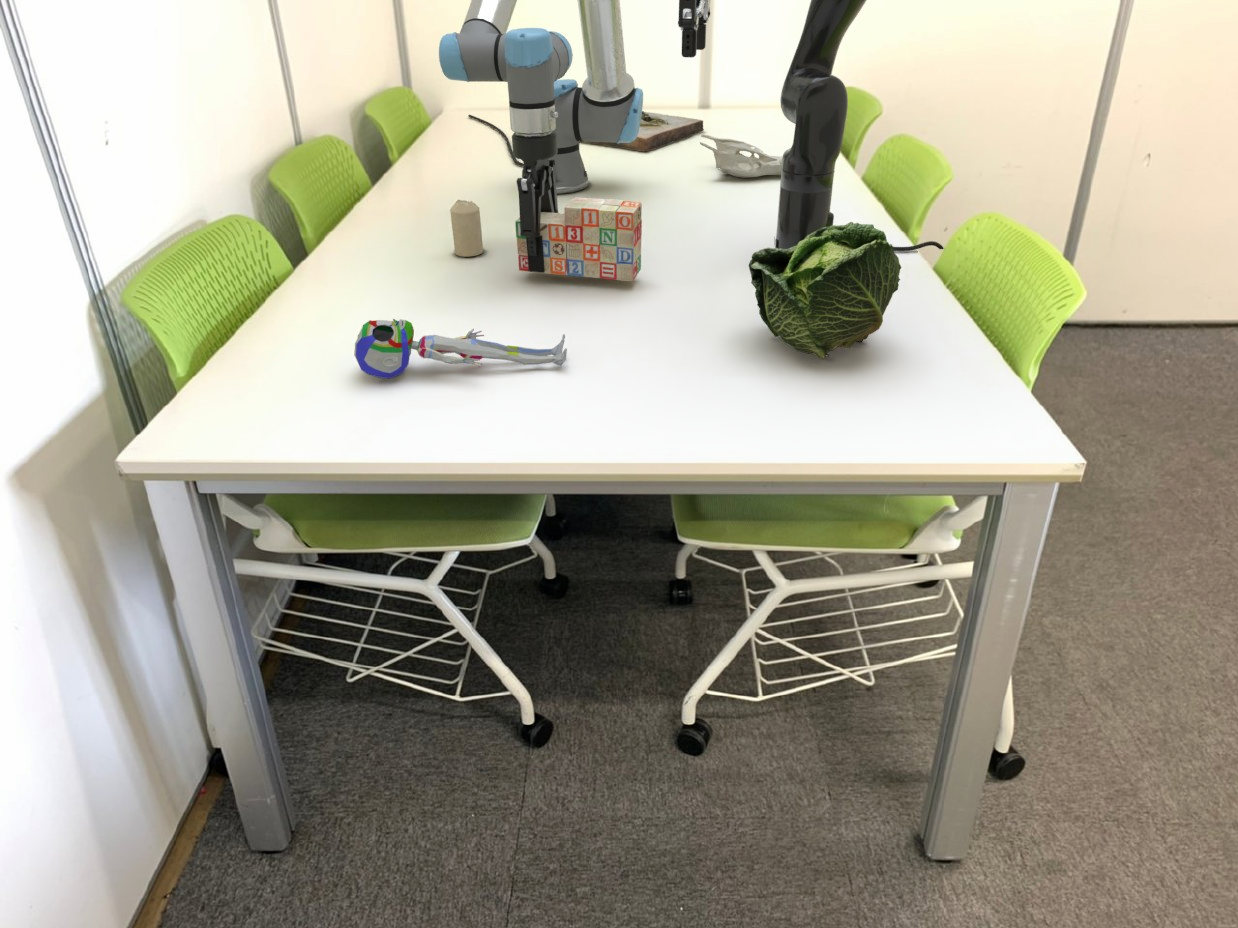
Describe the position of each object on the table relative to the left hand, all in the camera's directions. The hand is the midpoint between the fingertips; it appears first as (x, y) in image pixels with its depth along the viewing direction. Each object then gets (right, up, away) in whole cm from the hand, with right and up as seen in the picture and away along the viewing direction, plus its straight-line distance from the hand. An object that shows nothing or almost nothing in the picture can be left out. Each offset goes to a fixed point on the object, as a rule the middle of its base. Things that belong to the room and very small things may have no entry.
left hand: (542, 264), depth 162 cm
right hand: (+26, +29, -19) cm, 44 cm away
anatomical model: (+46, +35, +59) cm, 82 cm away
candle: (-15, +5, +13) cm, 21 cm away
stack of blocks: (+7, -1, -1) cm, 7 cm away
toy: (-9, -22, -30) cm, 38 cm away
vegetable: (+45, -18, -25) cm, 54 cm away
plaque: (+18, +59, +97) cm, 115 cm away
